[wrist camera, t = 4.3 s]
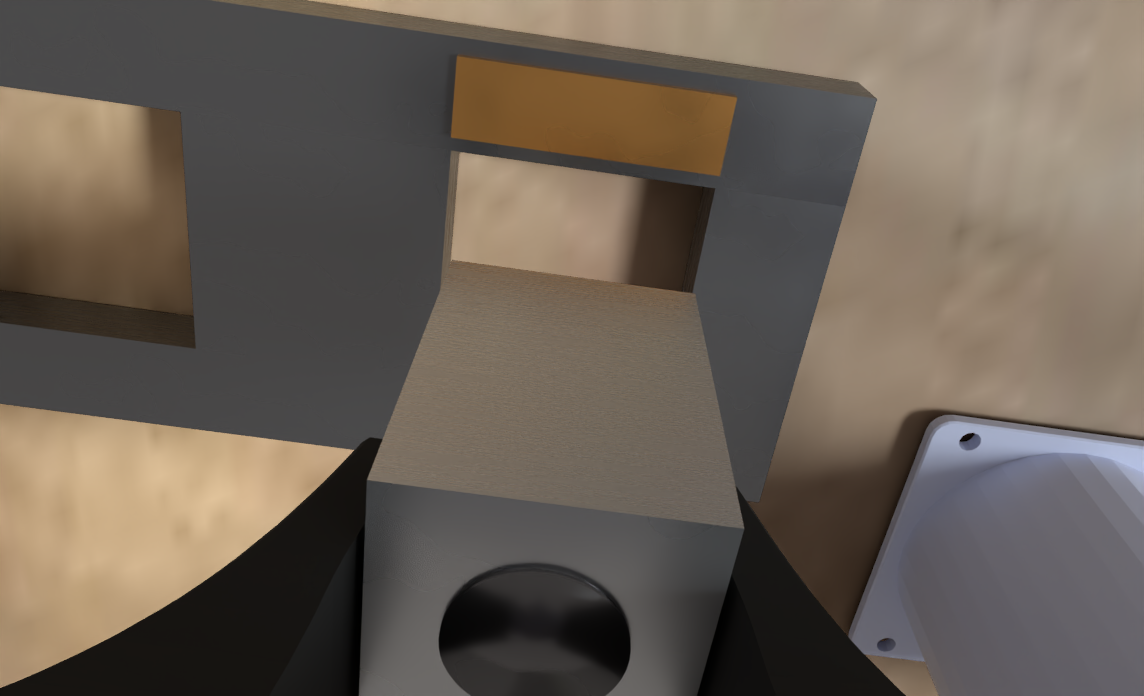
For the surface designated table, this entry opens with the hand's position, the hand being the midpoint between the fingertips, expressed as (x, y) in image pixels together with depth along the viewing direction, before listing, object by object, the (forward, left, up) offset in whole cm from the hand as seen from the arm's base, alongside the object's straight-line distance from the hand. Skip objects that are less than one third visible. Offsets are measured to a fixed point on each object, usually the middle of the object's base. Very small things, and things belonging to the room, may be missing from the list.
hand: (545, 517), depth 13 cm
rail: (+6, 0, -9) cm, 11 cm away
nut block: (0, 0, -3) cm, 3 cm away
